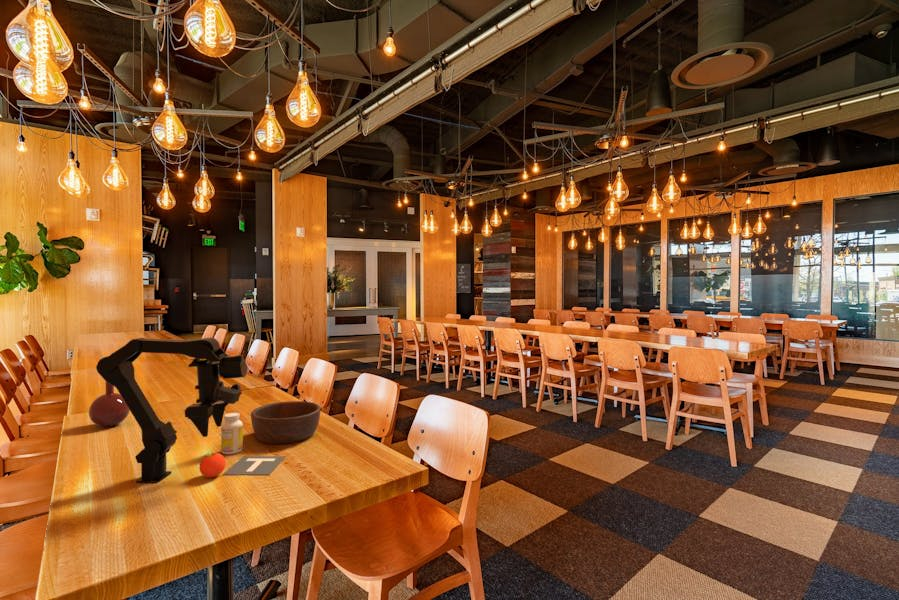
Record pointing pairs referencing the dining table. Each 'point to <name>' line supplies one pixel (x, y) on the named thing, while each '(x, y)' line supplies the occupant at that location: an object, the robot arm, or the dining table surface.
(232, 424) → the supplement bottle
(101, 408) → the round-bottom flask
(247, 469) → the letter tile
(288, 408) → the wooden bowl
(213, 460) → the clementine
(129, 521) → the dining table surface
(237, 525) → the dining table surface
